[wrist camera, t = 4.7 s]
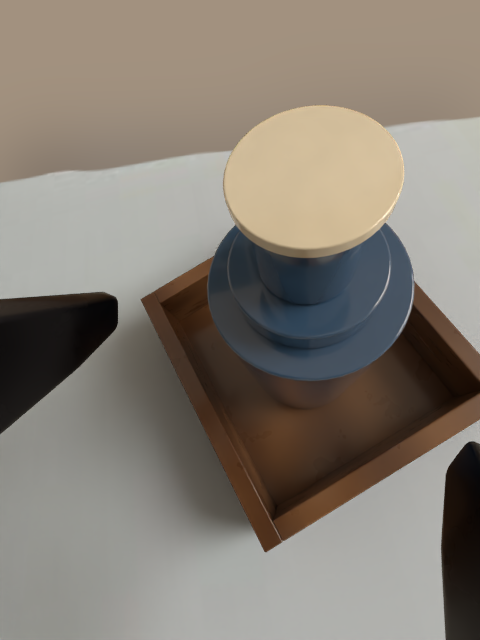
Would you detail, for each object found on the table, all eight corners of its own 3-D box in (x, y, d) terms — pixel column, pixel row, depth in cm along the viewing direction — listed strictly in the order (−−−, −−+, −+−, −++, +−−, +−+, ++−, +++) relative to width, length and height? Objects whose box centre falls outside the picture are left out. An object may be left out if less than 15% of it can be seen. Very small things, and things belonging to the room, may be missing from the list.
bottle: (285, 430, 17) (246, 413, 4) (232, 339, 19) (102, 152, 6) (379, 372, 17) (603, 198, 5) (316, 289, 19) (350, 8, 7)
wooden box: (272, 528, 16) (265, 553, 13) (165, 321, 21) (140, 299, 17) (473, 404, 16) (518, 396, 13) (325, 226, 21) (330, 186, 18)
